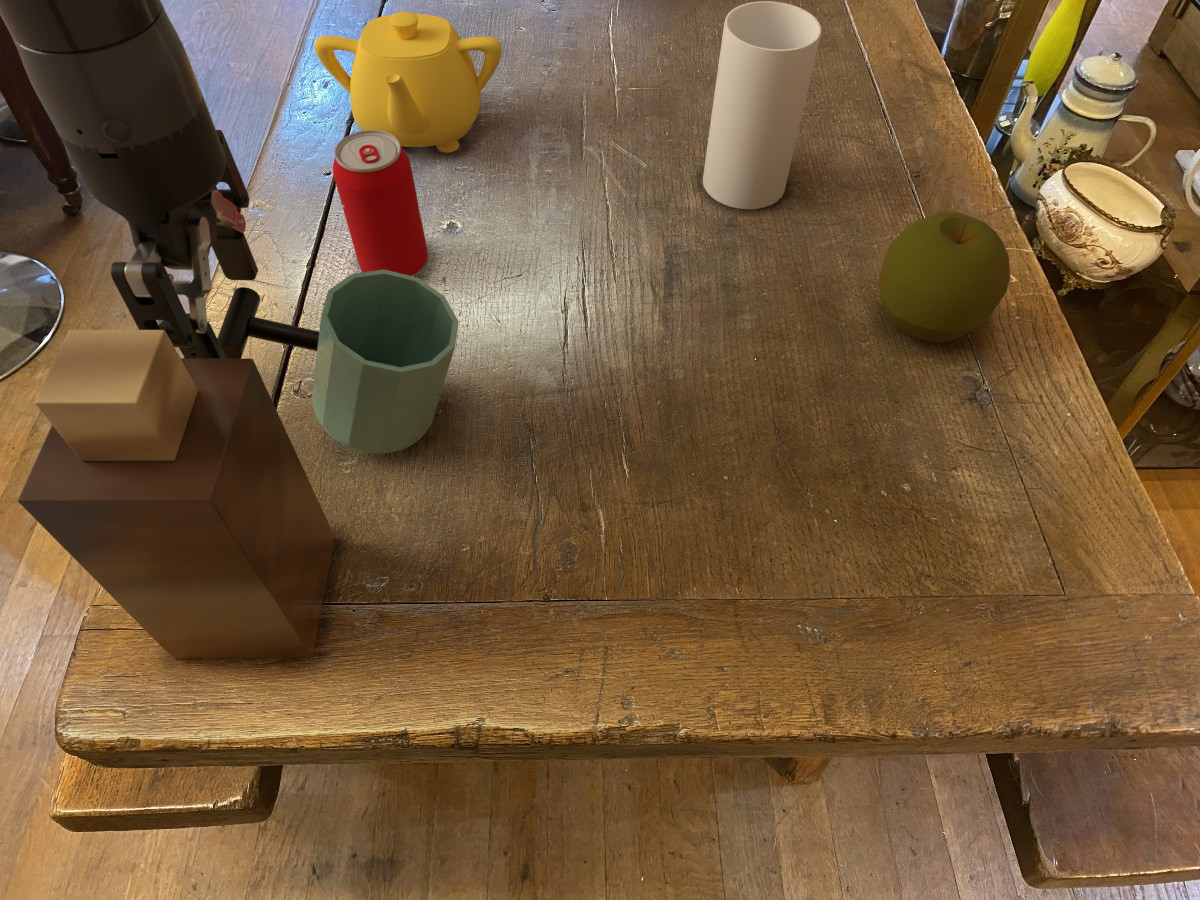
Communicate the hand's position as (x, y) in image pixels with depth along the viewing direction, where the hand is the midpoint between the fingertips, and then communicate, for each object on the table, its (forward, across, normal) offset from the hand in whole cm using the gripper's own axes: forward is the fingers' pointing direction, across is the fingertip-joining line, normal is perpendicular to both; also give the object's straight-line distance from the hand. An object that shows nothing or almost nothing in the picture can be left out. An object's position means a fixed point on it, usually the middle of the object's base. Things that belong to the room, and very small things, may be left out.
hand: (227, 320), depth 59 cm
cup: (+11, -30, +40) cm, 51 cm away
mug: (+8, 0, +5) cm, 10 cm away
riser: (+11, +15, +2) cm, 19 cm away
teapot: (+10, -37, +7) cm, 39 cm away
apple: (+11, -12, +54) cm, 56 cm away
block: (-8, +16, +2) cm, 18 cm away
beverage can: (+11, -18, +7) cm, 22 cm away
